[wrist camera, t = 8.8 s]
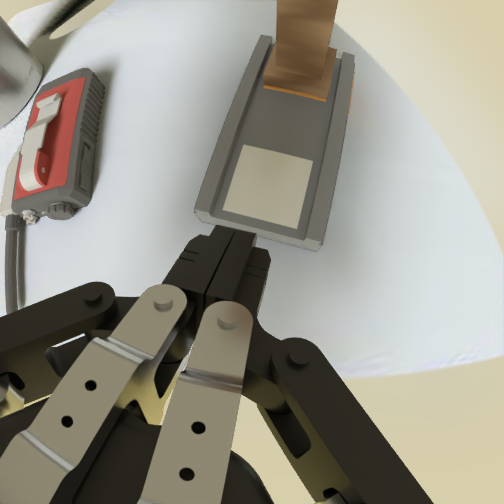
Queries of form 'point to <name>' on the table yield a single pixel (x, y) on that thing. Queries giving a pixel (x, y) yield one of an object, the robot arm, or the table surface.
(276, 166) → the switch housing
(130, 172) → the table surface
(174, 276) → the robot arm
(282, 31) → the brown wooden block
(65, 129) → the walkie-talkie
